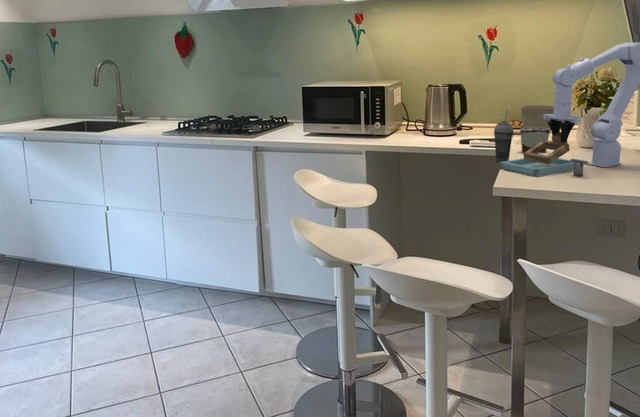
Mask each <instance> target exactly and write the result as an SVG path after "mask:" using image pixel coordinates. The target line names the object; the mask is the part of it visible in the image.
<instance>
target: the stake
mask: <svg viewBox="0 0 640 417" xmlns="http://www.w3.org/2000/svg"><path fill="white" fill-rule="evenodd" d="M570 160H571V162H574V170H573V174H572V176H573V177H575V176H578V177H577V178H581V177H580V176H584V166H586V165H589V164H588V163H589V161H588V160H583V159H577V158H570Z"/></svg>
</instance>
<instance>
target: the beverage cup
mask: <svg viewBox="0 0 640 417" xmlns="http://www.w3.org/2000/svg"><path fill="white" fill-rule="evenodd" d="M507 118H508V109H506V110H505V118H504V121H502V120H501V121H499V122H498V123H497V124H496V125H495V127H494V131H493V136H494V145H495V146H494V148H495V150H494V151H495V161H496V163H498V164H500V162H504V161H510V154H511V147H512V146H511V145H512V139H513V136H514V128H513V125H512V124H511V123H510V122H509V121H507Z"/></svg>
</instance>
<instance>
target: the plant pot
mask: <svg viewBox="0 0 640 417" xmlns="http://www.w3.org/2000/svg"><path fill="white" fill-rule="evenodd" d="M553 112H554V105H546V104H545V105H544V104H543V105H541V104H540V105H537V104H535V105H522V106H520V113H521V120H522V125H523V127H546V128H550V127H549V125H548V122H550V120H544V119H543V117H544V114H553ZM523 127H522V128H523ZM550 131H551V129H550Z"/></svg>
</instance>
